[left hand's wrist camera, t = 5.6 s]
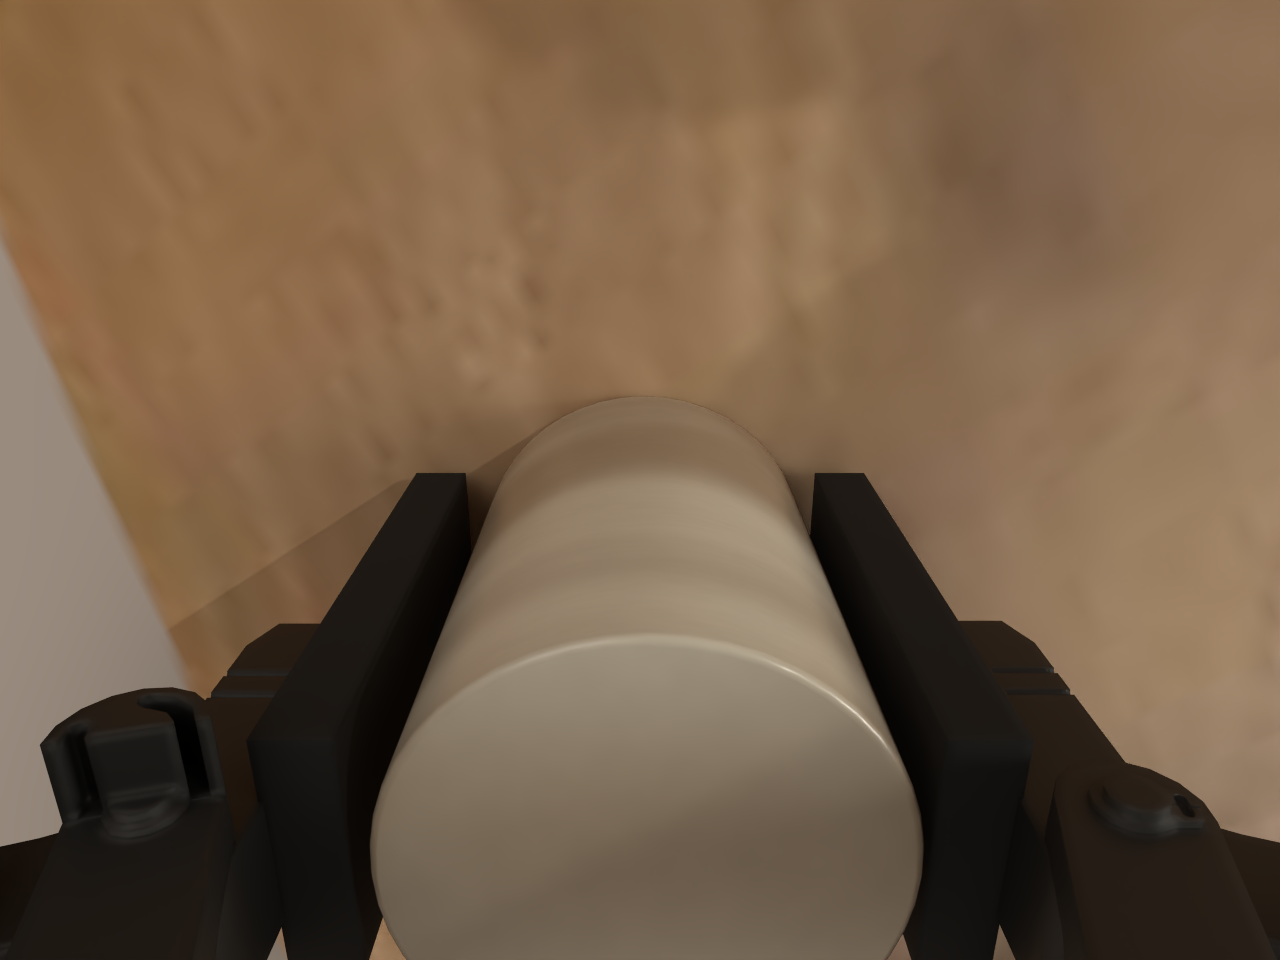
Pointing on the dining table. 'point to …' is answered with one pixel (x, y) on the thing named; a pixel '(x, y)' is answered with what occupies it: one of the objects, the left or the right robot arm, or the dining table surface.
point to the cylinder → (645, 722)
